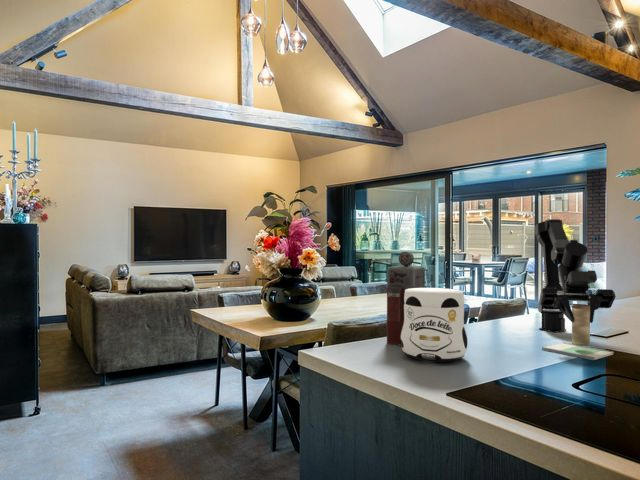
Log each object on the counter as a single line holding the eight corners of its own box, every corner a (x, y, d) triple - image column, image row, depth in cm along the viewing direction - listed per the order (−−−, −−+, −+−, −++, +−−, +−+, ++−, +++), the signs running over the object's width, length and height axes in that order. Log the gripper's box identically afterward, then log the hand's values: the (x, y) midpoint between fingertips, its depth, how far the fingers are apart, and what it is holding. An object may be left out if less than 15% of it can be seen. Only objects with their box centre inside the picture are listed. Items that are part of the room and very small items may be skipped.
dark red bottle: (383, 344, 137) (383, 251, 138) (398, 338, 147) (398, 251, 147) (410, 348, 132) (411, 252, 133) (425, 341, 142) (425, 251, 142)
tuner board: (542, 349, 132) (542, 347, 132) (563, 344, 138) (563, 342, 138) (593, 360, 120) (593, 357, 120) (613, 354, 126) (613, 351, 126)
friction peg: (571, 344, 128) (571, 305, 128) (572, 341, 131) (572, 303, 131) (589, 346, 125) (589, 306, 125) (590, 343, 129) (590, 304, 129)
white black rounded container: (419, 368, 112) (419, 295, 112) (390, 352, 128) (390, 288, 128) (481, 364, 116) (481, 293, 116) (445, 348, 133) (445, 286, 133)
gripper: (541, 260, 135) (550, 302, 124) (613, 261, 130) (628, 305, 119) (536, 284, 142) (543, 326, 131) (603, 286, 137) (617, 329, 127)
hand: (582, 321), depth 127 cm, fingers closed on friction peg, 4 cm apart
